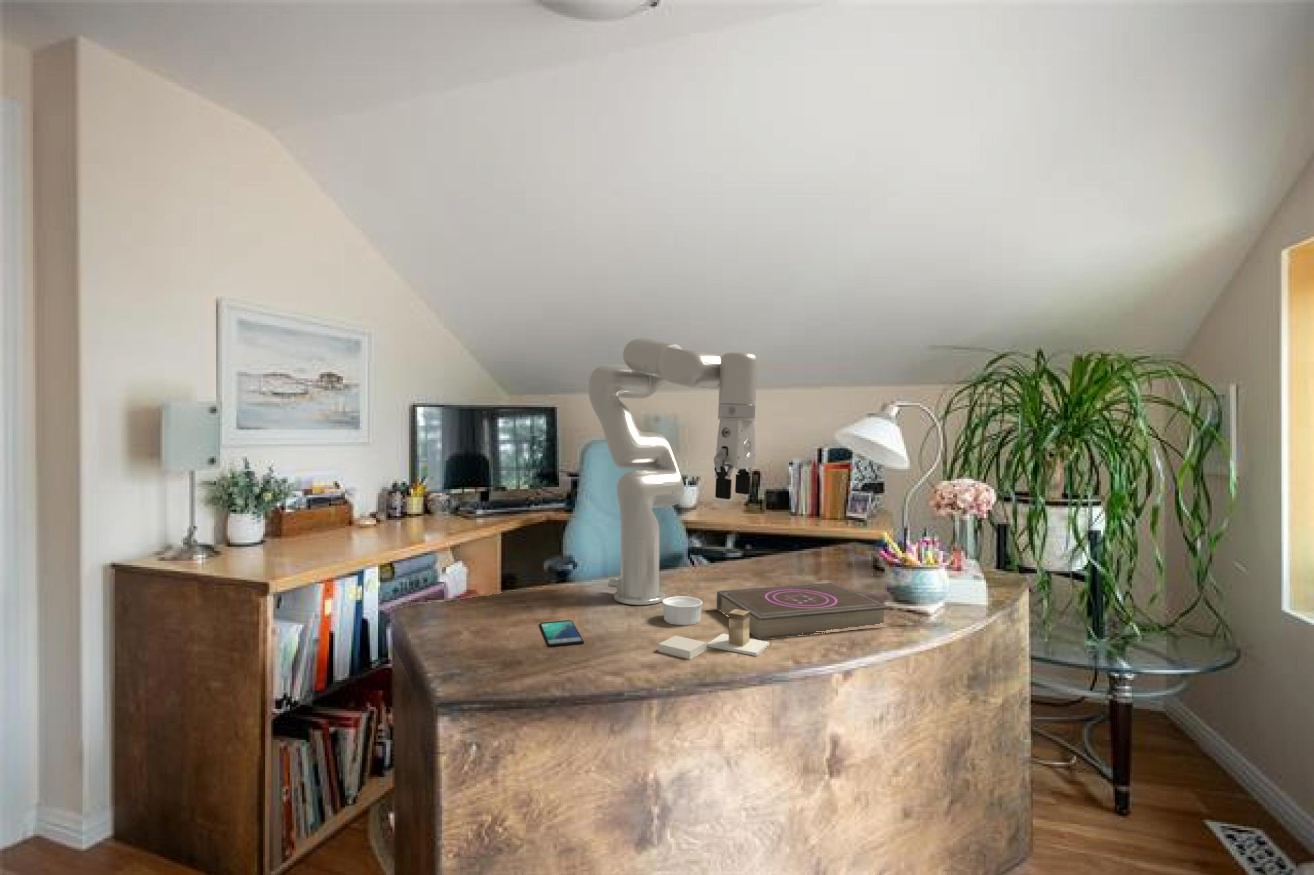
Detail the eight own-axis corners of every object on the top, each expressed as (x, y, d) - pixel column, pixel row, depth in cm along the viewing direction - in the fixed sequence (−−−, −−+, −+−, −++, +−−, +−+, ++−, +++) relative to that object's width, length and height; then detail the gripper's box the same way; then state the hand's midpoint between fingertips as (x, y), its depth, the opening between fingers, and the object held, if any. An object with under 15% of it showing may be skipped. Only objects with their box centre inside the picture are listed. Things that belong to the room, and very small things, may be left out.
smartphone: (548, 646, 121) (538, 622, 135) (547, 649, 121) (538, 625, 135) (584, 642, 123) (572, 619, 137) (584, 646, 123) (572, 623, 137)
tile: (658, 643, 119) (690, 651, 116) (675, 635, 124) (706, 642, 120) (658, 653, 119) (690, 661, 116) (675, 644, 124) (706, 651, 120)
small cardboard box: (728, 643, 122) (728, 612, 122) (734, 639, 125) (735, 608, 125) (743, 646, 121) (743, 615, 121) (749, 641, 123) (749, 611, 123)
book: (759, 642, 126) (759, 617, 126) (716, 611, 148) (716, 590, 148) (889, 629, 135) (889, 606, 135) (830, 602, 157) (831, 582, 157)
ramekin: (660, 615, 143) (660, 596, 143) (699, 614, 144) (699, 595, 144) (664, 627, 134) (664, 607, 134) (705, 626, 135) (705, 606, 135)
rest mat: (707, 646, 122) (707, 643, 122) (722, 636, 128) (722, 633, 128) (756, 656, 117) (756, 652, 117) (769, 645, 123) (769, 641, 123)
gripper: (736, 413, 121) (732, 502, 122) (769, 414, 136) (765, 493, 137) (701, 412, 125) (697, 498, 126) (736, 413, 140) (733, 490, 140)
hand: (733, 495), depth 131 cm, fingers open, 9 cm apart
